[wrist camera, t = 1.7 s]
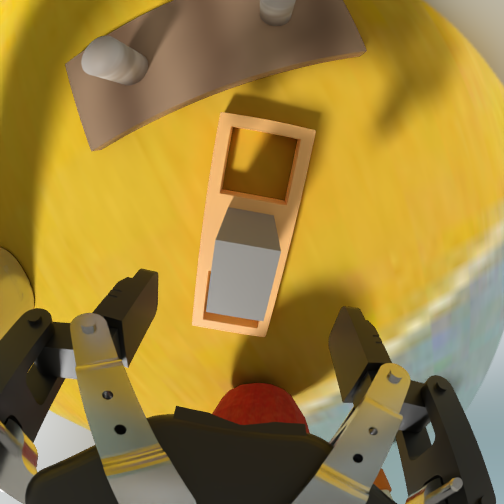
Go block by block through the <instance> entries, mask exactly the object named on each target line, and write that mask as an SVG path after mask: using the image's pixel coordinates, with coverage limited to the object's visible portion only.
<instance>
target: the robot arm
mask: <svg viewBox="0 0 504 504" xmlns="http://www.w3.org/2000/svg"><path fill="white" fill-rule="evenodd" d="M157 305H158V273H157V272H155V271H150V270H145V269H140V270H139V271H138V272H137V273H136V274H135V276H134V277H133V278H129V277H127V278H125V279H123V280H121V281H119V282H118V283H117V284H116V285H115V286H114V287H113V289H112V290H111V291H110V292H109V293H108V295H107V296H106V297H105V298H104V299H103V300H102V302H101V303H100V304H99V305H98V307H97V308H96V309H95V310H94V311H93V313H85V314H81V315H79V316H77V317H75V318H74V319H73V320H72V322H71V323H60V322H53V321H52V318H51V315H50V313H49V312H48V311H46V310H44V309H40V308H36V309H34V296H33V292H32V288H31V285H30V282H29V280H28V278H27V276H26V274H25V272H24V270H23V269H22V267H21V265H20V264H19V263H18V261H17V260H16V259H15V258H14V256H13V255H12V254H11V253H9V252H8V251H7V250H6V249H3V248H1V247H0V491H2V492H6V493H7V494H9V495H10V496H12V497H13V498H15V499H16V500H18V501H19V502H21V503H23V504H397V503H395V502H394V501H393V500H392V499H391V498H390V497H388V496H387V495H386V494H385V493H384V492H383V491H381V490H380V489H379V488H378V487H377V486H376V485H375V484H373V483H374V481H375V479H376V477H377V475H378V473H379V471H380V469H381V467H382V465H383V463H384V461H385V459H386V457H387V454H388V452H389V450H390V448H391V446H392V443H393V441H394V439H395V437H396V441H397V445H398V449H399V454H400V458H401V462H402V467H403V471H404V476H405V481H406V486H407V492H408V499H407V500H406V503H405V504H496V498H495V494H494V490H493V487H492V484H491V481H490V477H489V474H488V471H487V468H486V465H485V462H484V460H483V457H482V454H481V451H480V449H479V446H478V444H477V441H476V439H475V436H474V434H473V431H472V429H471V426H470V424H469V422H468V419H467V417H466V415H465V413H464V411H463V408H462V406H461V404H460V402H459V400H458V398H457V396H456V393H455V391H454V389H453V387H452V386H451V384H450V383H449V382H448V381H447V380H446V379H445V378H443V377H441V376H436V375H434V376H431V377H429V378H428V380H427V381H426V382H425V384H423V383H419V382H416V381H412V380H410V376H409V374H408V373H407V371H406V370H405V369H404V368H402V367H401V366H399V365H397V364H393V363H392V362H391V360H390V358H389V355H388V353H387V351H386V349H385V347H384V345H383V344H382V341H381V339H380V337H379V334H378V332H377V330H376V328H375V327H374V326H373V325H372V324H371V323H370V322H369V321H368V320H365V318H364V316H363V314H362V312H361V310H360V309H359V308H353V307H346V306H343V307H342V308H341V310H340V312H339V314H338V317H337V319H336V321H335V324H334V326H333V328H332V331H331V333H330V336H329V349H330V353H331V357H332V361H333V365H334V369H335V373H336V377H337V381H338V385H339V389H340V393H341V397H342V401H343V403H353V404H354V407H353V408H352V410H351V411H350V412H349V414H348V416H347V417H346V419H345V420H344V422H343V423H342V425H341V426H340V428H339V429H338V431H337V432H336V434H335V435H334V436H333V438H332V439H331V441H330V442H329V443H328V442H327V441H325V440H323V439H322V438H320V437H317V436H315V435H312V434H310V433H306V425H305V424H301V423H284V422H269V423H260V424H249V425H240V424H237V423H234V422H231V421H228V420H226V419H223V418H221V417H218V416H215V415H213V414H210V413H208V412H202V411H197V410H192V409H188V408H183V407H179V406H176V409H175V412H174V414H166V415H157V416H152V417H149V418H146V417H145V415H144V413H143V410H142V408H141V406H140V404H139V402H138V399H137V397H136V395H135V392H134V390H133V388H132V385H131V383H130V380H129V378H128V375H127V373H126V370H125V368H124V367H127V368H128V367H129V365H130V363H131V361H132V359H133V357H134V355H135V353H136V351H137V349H138V347H139V345H140V343H141V341H142V339H143V337H144V335H145V334H146V332H147V330H148V328H149V326H150V324H151V322H152V320H153V318H154V316H155V314H156V311H157ZM33 363H34V364H33ZM32 364H33V365H32ZM31 366H32V367H31ZM30 367H31V368H30ZM29 369H30V370H29ZM28 370H29V371H28ZM27 372H28V373H27ZM65 378H71V379H77V381H78V385H79V389H80V394H81V398H82V402H83V405H84V409H85V413H86V416H87V420H88V423H89V426H90V429H91V433H92V436H93V439H94V441H95V445H94V446H92V447H90V448H88V449H86V450H84V451H82V452H80V453H78V454H76V455H74V456H71V457H69V458H67V459H65V460H63V461H60V462H58V463H56V464H54V465H52V466H49V467H47V468H44V469H42V470H41V471H39V472H38V473H37V470H36V467H37V460H38V453H37V449H36V447H35V445H34V444H33V442H34V440H35V438H36V436H37V433H38V431H39V429H40V427H41V425H42V423H43V421H44V418H45V416H46V414H47V412H48V410H49V408H50V406H51V404H52V403H53V401H54V399H55V397H56V395H57V393H58V391H59V389H60V387H61V385H62V384H63V382H64V380H65ZM430 422H431V423H432V426H433V429H434V432H435V441H434V443H433V445H431V442H430V439H429V436H428V433H427V430H426V426H427V425H428V424H429V423H430Z"/></svg>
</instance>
